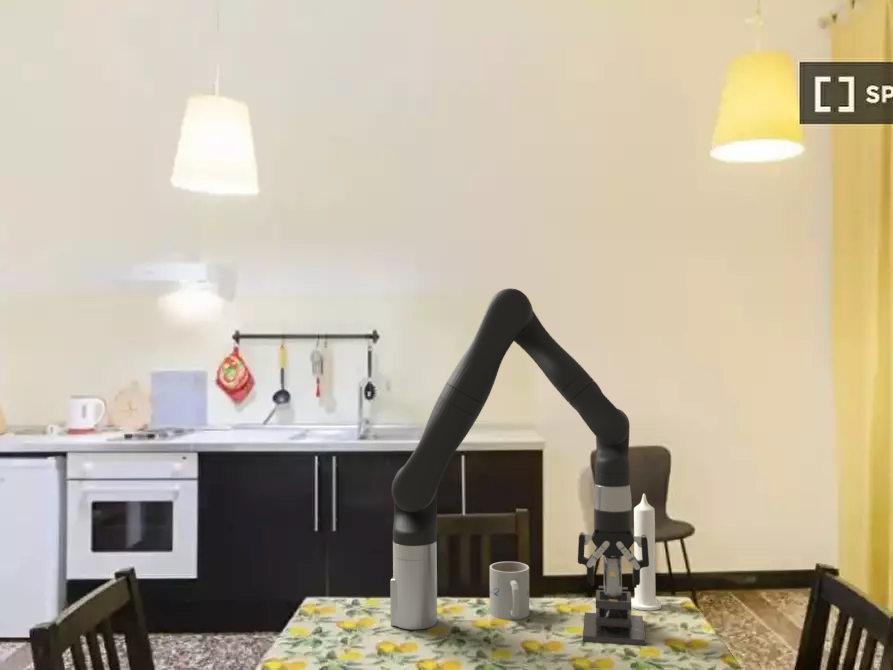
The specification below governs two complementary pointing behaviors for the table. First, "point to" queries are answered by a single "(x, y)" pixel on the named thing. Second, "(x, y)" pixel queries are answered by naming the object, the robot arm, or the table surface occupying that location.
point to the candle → (646, 526)
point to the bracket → (613, 622)
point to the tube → (612, 585)
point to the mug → (509, 590)
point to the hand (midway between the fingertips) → (613, 585)
